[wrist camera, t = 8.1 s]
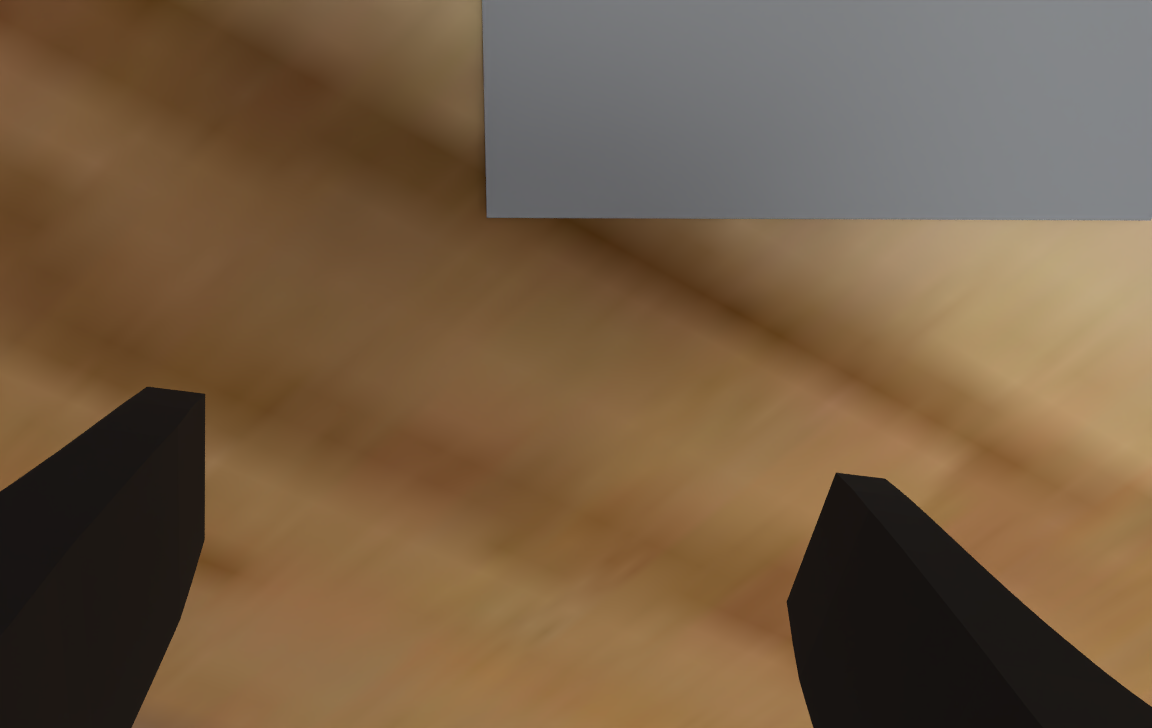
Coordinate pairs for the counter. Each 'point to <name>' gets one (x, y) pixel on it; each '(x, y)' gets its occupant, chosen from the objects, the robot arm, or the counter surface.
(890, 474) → the counter surface
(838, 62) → the lid
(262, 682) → the counter surface
